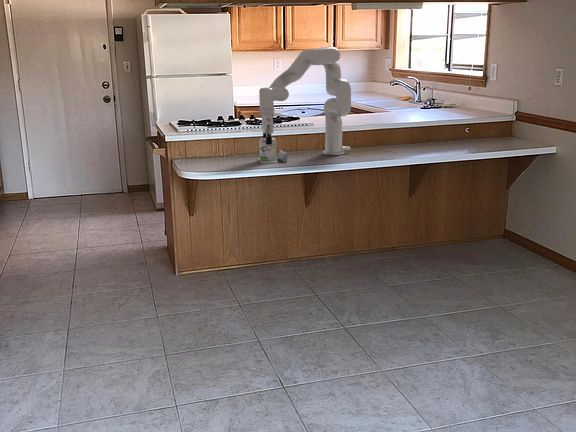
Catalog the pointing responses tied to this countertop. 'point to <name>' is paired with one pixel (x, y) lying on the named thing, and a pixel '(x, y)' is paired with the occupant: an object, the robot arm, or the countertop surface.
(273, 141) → the ink box
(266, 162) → the pad
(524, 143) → the countertop surface
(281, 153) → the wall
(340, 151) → the robot arm
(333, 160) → the countertop surface
